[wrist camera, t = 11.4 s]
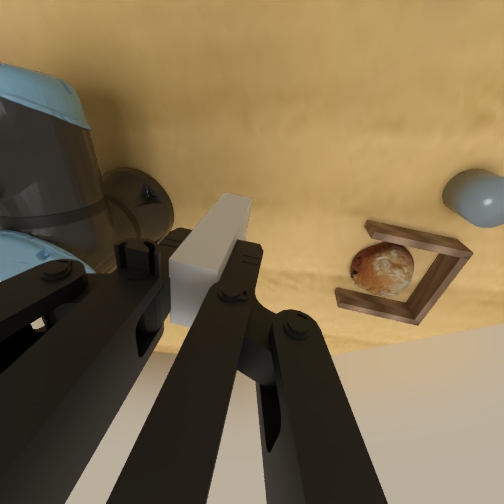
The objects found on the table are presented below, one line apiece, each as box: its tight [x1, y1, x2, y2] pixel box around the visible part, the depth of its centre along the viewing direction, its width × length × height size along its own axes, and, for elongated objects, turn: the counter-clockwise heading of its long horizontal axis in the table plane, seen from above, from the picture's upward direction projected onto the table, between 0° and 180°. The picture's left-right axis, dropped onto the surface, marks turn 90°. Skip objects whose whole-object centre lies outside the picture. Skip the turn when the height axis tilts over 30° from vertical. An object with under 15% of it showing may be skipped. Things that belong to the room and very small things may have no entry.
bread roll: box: [351, 243, 414, 297], centre depth 44 cm, size 10×10×8 cm
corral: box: [335, 220, 473, 326], centre depth 44 cm, size 15×16×4 cm
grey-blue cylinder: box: [442, 169, 504, 228], centre depth 35 cm, size 6×6×6 cm
